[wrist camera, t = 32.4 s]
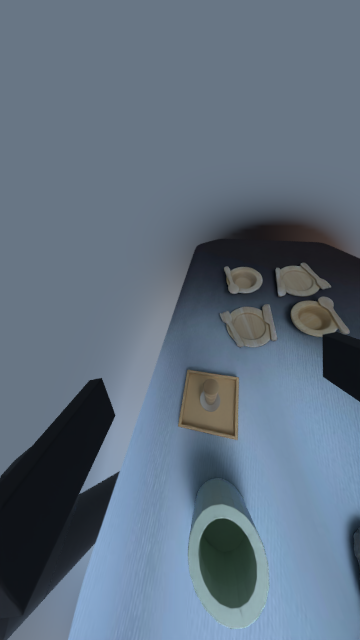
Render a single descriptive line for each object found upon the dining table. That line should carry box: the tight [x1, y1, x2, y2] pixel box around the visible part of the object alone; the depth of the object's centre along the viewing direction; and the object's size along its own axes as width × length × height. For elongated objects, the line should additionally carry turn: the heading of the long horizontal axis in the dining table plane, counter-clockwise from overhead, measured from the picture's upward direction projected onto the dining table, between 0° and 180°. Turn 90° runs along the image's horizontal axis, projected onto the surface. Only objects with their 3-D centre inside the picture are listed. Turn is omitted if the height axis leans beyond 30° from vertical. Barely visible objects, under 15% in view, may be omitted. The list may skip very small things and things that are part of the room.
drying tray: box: [178, 370, 239, 440], centre depth 42 cm, size 13×13×2 cm
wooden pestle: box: [200, 379, 220, 412], centre depth 33 cm, size 5×5×22 cm
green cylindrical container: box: [188, 478, 269, 629], centre depth 27 cm, size 10×10×13 cm
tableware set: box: [220, 263, 350, 347], centre depth 53 cm, size 35×29×4 cm
